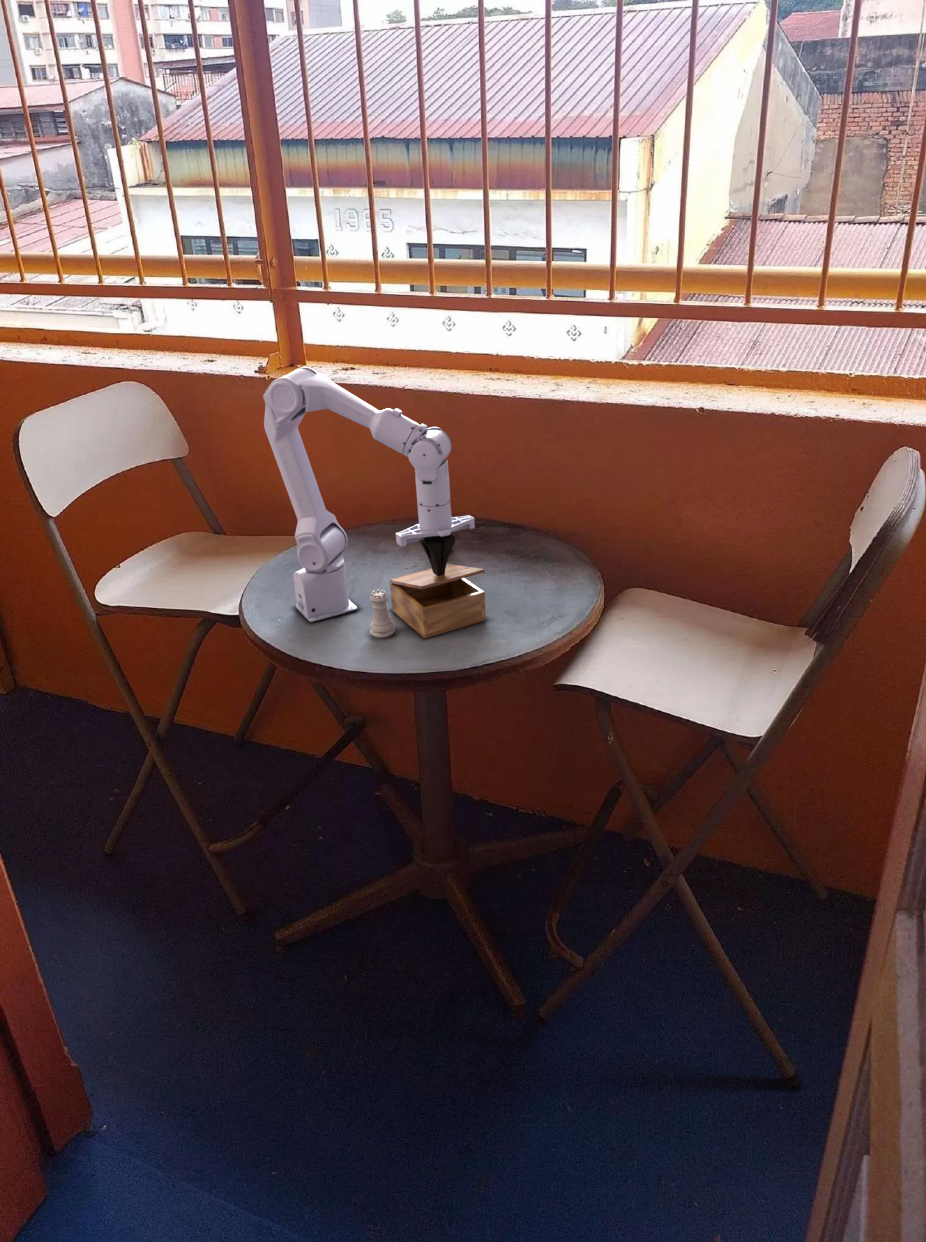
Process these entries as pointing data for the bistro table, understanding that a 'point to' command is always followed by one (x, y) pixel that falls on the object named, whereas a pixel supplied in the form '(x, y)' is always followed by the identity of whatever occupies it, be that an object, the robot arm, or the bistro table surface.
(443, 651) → the bistro table surface
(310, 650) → the bistro table surface
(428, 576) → the lid
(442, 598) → the keepsake box
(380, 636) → the rook chess piece
